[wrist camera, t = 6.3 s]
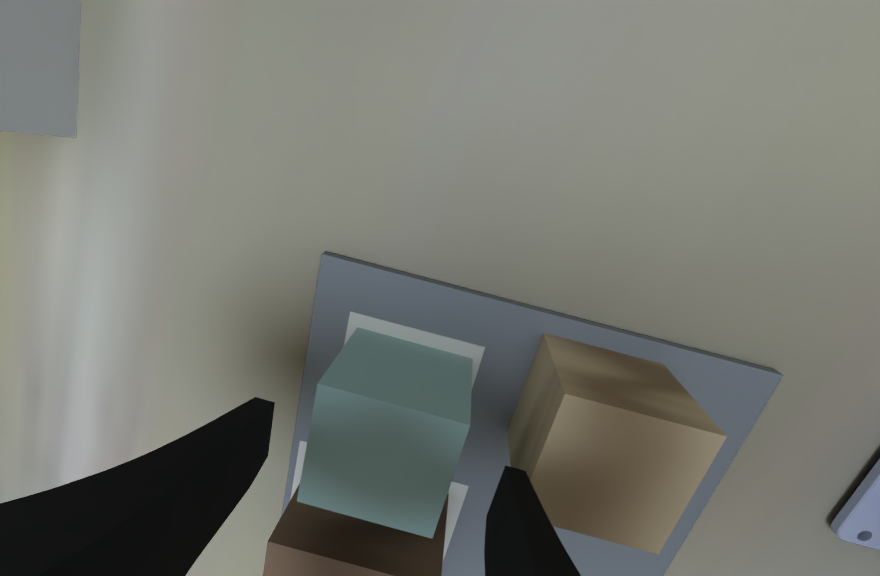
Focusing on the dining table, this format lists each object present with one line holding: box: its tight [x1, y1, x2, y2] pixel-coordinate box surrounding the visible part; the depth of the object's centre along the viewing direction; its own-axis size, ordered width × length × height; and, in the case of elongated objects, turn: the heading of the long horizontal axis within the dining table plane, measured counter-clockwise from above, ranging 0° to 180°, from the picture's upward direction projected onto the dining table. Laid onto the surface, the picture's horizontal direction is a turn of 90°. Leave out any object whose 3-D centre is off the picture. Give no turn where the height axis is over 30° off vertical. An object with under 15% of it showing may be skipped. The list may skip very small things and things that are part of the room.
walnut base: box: [263, 483, 449, 576], centre depth 17 cm, size 6×6×4 cm
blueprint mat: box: [282, 251, 783, 576], centre depth 18 cm, size 17×18×1 cm
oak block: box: [507, 333, 727, 554], centre depth 14 cm, size 4×4×4 cm
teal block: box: [297, 327, 473, 539], centre depth 14 cm, size 4×4×4 cm
